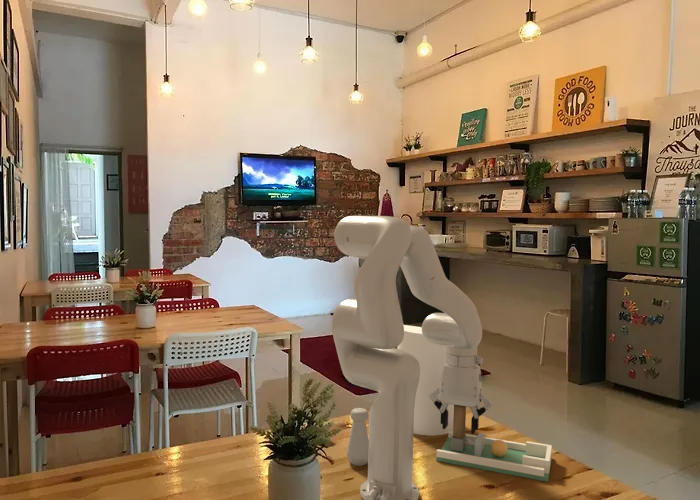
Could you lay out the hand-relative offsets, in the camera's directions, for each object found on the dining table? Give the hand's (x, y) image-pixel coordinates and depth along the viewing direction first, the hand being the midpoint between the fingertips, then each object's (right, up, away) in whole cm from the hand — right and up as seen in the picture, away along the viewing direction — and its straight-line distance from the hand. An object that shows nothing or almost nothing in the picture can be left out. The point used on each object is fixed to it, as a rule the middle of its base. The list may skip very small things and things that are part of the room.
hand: (459, 429), depth 143 cm
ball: (+9, -4, -4) cm, 10 cm away
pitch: (+8, -7, -3) cm, 11 cm away
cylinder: (-6, -5, +20) cm, 22 cm away
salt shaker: (-26, -6, -6) cm, 27 cm away
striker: (+2, -5, -1) cm, 5 cm away
